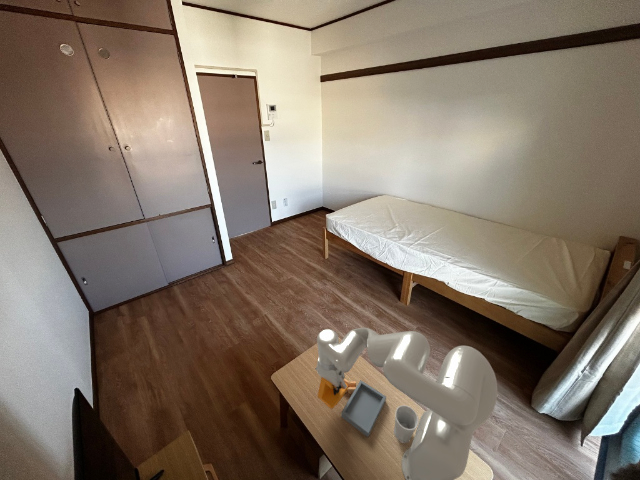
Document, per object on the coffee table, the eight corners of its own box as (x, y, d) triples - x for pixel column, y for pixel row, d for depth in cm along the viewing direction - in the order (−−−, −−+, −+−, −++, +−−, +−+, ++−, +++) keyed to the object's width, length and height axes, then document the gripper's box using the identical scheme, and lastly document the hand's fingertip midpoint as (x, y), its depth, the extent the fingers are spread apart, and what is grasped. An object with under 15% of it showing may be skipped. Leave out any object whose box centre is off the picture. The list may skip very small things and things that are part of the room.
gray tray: (385, 401, 105) (386, 396, 103) (368, 437, 94) (368, 433, 92) (360, 384, 111) (360, 380, 109) (341, 416, 100) (341, 412, 98)
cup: (388, 435, 94) (391, 419, 88) (396, 416, 100) (400, 400, 94) (409, 451, 90) (414, 435, 84) (416, 430, 95) (421, 414, 89)
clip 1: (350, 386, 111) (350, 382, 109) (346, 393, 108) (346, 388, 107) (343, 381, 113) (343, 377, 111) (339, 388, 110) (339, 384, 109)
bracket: (332, 411, 95) (331, 393, 89) (318, 398, 99) (316, 380, 93) (348, 389, 101) (348, 371, 96) (334, 378, 106) (334, 360, 100)
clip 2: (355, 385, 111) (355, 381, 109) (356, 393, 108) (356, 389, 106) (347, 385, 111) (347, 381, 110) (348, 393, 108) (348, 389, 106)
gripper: (354, 362, 88) (354, 392, 97) (317, 341, 98) (320, 369, 106) (343, 379, 83) (344, 409, 92) (305, 355, 93) (309, 384, 101)
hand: (331, 387), depth 99 cm, fingers closed on bracket, 4 cm apart
